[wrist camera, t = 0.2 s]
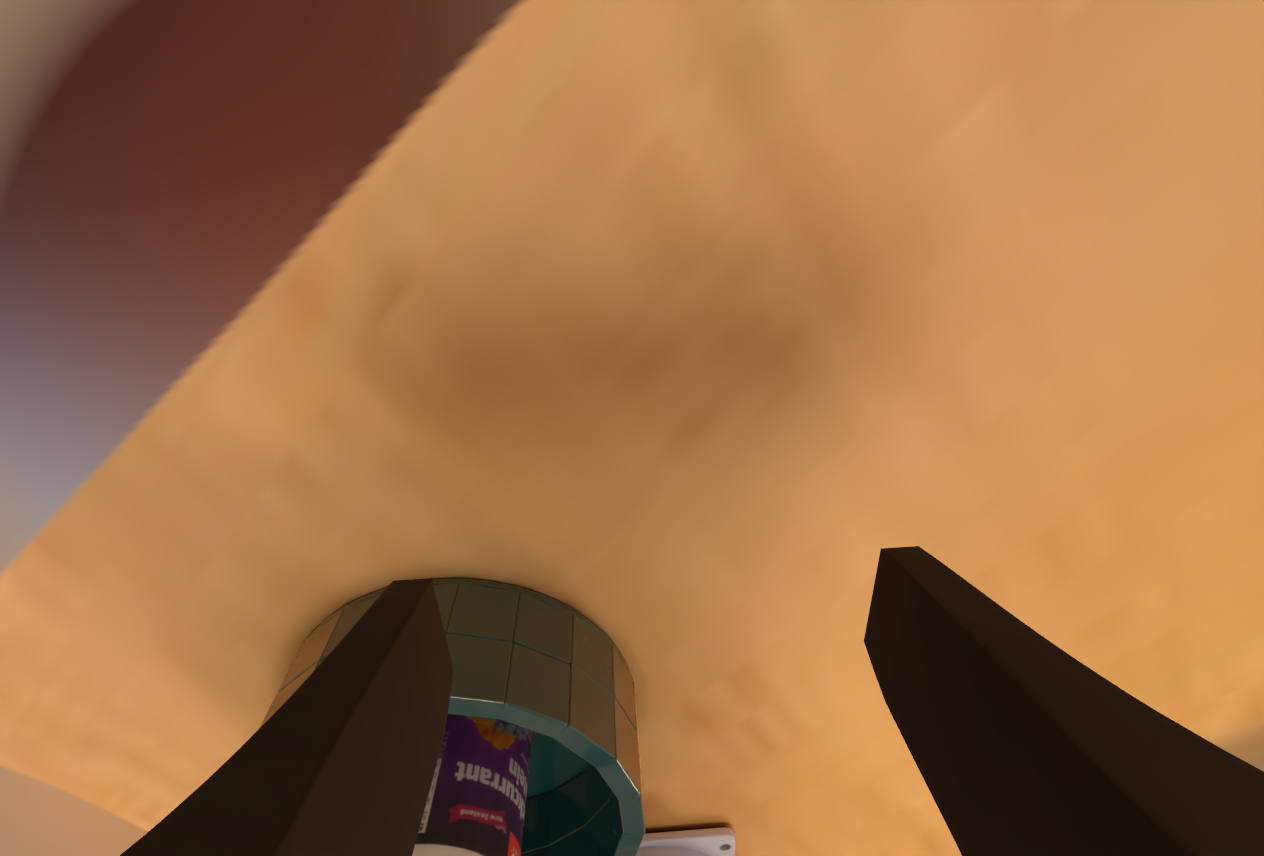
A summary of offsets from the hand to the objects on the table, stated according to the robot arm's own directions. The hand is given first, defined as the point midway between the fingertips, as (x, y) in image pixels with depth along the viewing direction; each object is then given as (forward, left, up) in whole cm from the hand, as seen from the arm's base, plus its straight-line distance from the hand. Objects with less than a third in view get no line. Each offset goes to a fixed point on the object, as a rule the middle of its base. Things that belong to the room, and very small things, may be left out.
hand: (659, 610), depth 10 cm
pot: (-14, +7, -10) cm, 19 cm away
